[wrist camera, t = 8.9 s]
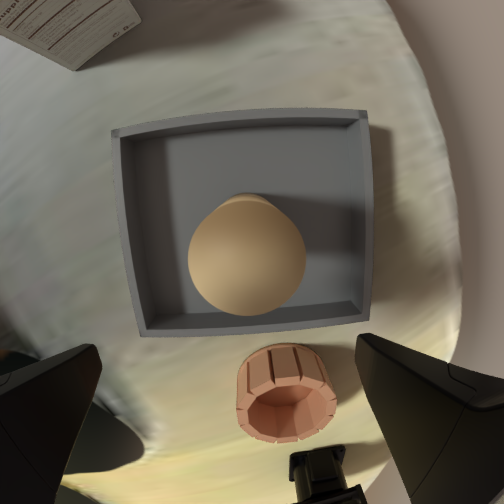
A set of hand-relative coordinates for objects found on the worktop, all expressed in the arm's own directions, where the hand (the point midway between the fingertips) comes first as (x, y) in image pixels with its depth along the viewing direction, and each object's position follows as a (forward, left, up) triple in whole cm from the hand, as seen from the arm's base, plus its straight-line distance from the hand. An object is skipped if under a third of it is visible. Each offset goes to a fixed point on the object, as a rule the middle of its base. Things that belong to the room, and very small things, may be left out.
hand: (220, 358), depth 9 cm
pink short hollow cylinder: (-11, -3, -13) cm, 17 cm away
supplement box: (+22, +11, -13) cm, 27 cm away
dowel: (+3, -1, -12) cm, 12 cm away
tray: (+3, -1, -13) cm, 13 cm away
